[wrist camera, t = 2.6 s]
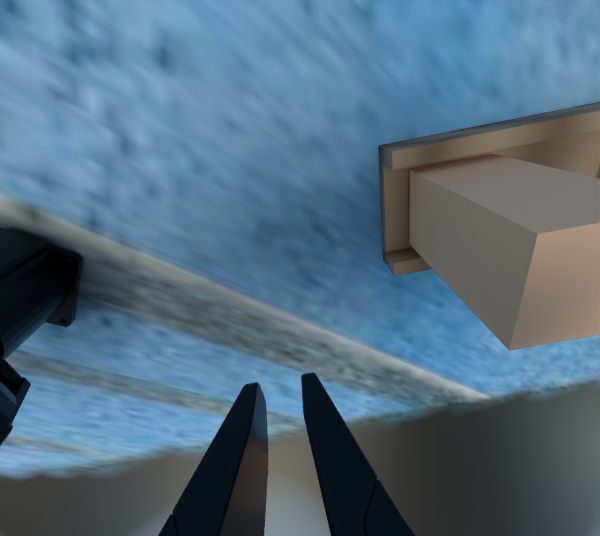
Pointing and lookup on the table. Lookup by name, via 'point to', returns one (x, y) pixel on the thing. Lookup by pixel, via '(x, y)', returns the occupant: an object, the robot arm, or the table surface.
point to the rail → (477, 142)
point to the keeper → (513, 244)
